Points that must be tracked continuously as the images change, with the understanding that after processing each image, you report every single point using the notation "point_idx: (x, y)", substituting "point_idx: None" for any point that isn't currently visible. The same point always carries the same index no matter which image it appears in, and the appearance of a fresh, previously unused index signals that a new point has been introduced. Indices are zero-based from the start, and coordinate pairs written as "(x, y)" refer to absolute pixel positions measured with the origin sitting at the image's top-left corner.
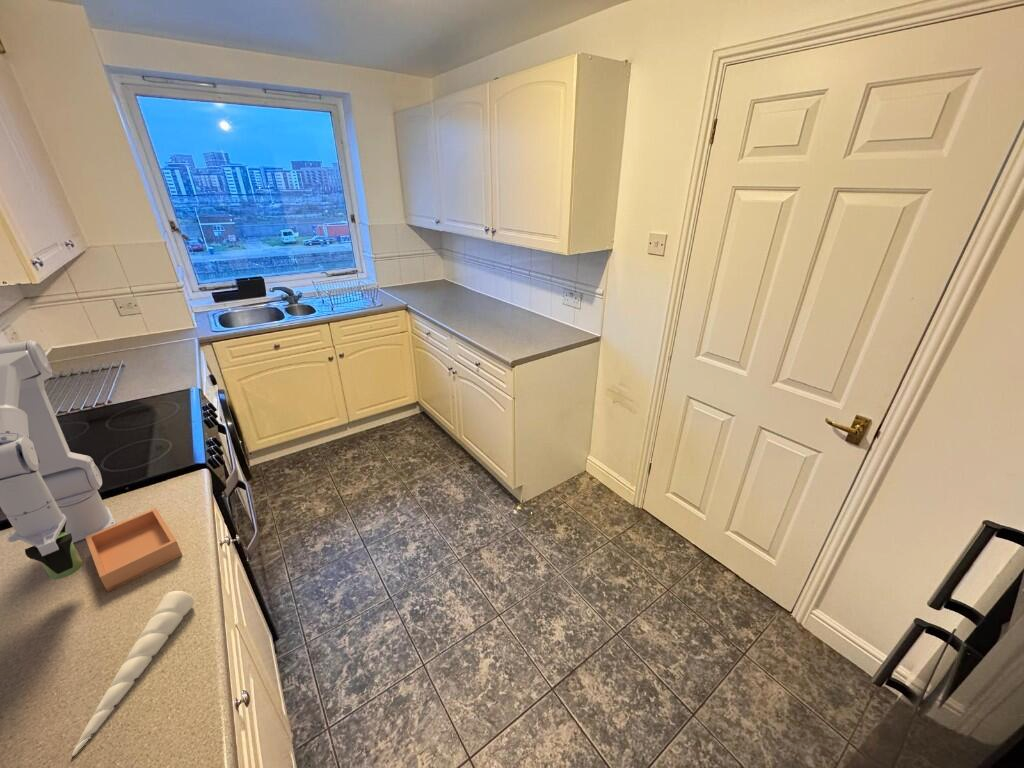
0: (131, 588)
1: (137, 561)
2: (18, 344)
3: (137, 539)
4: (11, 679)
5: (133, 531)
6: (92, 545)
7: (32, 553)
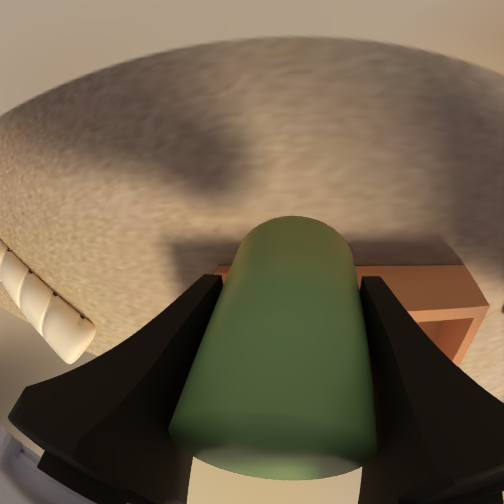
0: None
1: None
2: None
3: None
4: (55, 91)
5: None
6: (423, 318)
7: (17, 428)
